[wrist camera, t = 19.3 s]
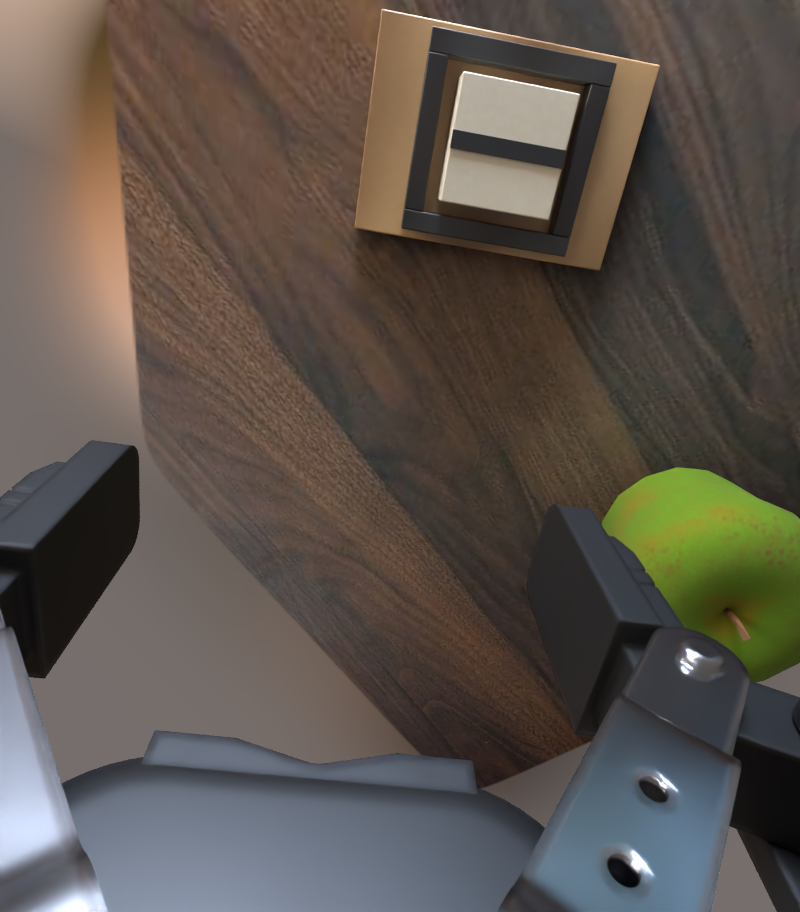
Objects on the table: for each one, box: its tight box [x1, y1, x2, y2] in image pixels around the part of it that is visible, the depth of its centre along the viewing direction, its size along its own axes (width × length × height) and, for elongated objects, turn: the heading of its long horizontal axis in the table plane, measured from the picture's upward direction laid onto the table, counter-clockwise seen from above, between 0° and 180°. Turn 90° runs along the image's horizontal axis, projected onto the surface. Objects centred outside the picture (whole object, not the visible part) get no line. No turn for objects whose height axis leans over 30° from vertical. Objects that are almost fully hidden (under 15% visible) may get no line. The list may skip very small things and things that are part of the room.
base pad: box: [354, 9, 660, 271], centre depth 31 cm, size 14×10×2 cm
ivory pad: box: [437, 71, 580, 220], centre depth 30 cm, size 6×6×3 cm
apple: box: [602, 467, 800, 682], centre depth 37 cm, size 12×12×11 cm
